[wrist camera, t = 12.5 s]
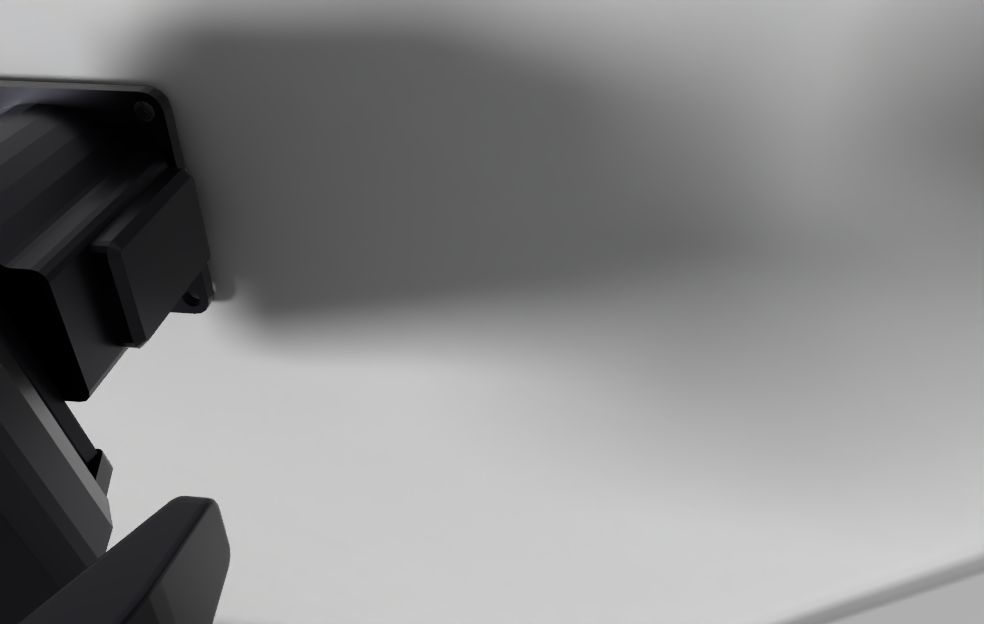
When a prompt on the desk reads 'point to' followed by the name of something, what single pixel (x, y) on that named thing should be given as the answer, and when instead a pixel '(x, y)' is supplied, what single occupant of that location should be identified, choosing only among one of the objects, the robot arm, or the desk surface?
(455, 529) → the desk surface
